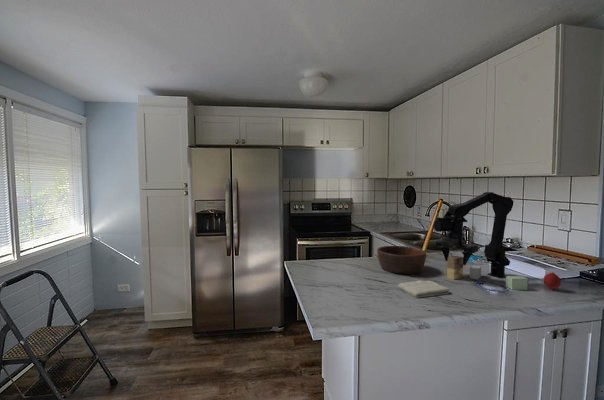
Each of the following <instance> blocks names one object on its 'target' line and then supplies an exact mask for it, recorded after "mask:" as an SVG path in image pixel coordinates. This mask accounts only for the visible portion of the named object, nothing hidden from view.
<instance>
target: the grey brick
mask: <svg viewBox="0 0 604 400" xmlns="http://www.w3.org/2000/svg"><path fill="white" fill-rule="evenodd" d="M481 276H482V266H480V265H474V264H473V265H472V266H470V267H469V279H473V280H479V278H480V277H481Z"/></svg>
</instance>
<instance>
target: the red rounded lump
mask: <svg viewBox="0 0 604 400" xmlns="http://www.w3.org/2000/svg"><path fill="white" fill-rule="evenodd" d="M542 281H543V284H544V285H545V286H546V287H547V288H548V289H549V290H551V291H552V290H555V289H558V288H560V287H561V285H562V281H561V278H560V277H559V276H558V275H557V274H556V273H555V272H554V271H551V270H550V271H549V273H547V274H546V275H544V277H543V279H542Z"/></svg>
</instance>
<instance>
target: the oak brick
mask: <svg viewBox="0 0 604 400" xmlns="http://www.w3.org/2000/svg"><path fill="white" fill-rule="evenodd" d="M446 269H447V270H446V278H447V279H449V278H450V280H458V279H463V276H464V267H463V268H459V269H450V268H446Z"/></svg>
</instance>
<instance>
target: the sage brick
mask: <svg viewBox="0 0 604 400" xmlns="http://www.w3.org/2000/svg"><path fill="white" fill-rule="evenodd" d="M528 280H529V278H528V277H525V276H522V275H508V276H506V277H505V287H506V286H507V287H508V288H507V289H509V288H510V289H509V290H511V291H523V290H525V291H527V290H528V285H529V284H528Z"/></svg>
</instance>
